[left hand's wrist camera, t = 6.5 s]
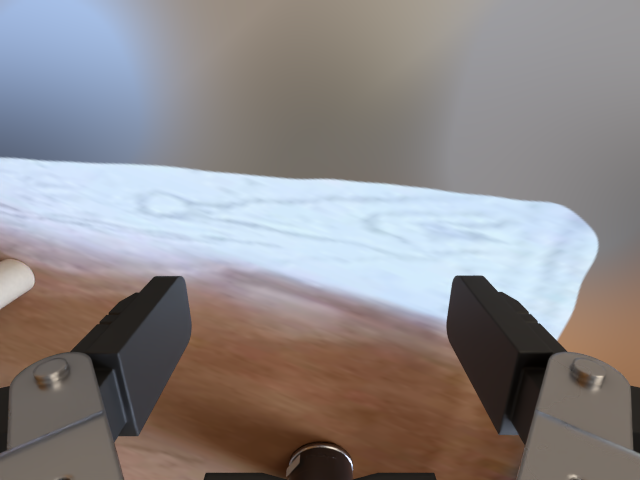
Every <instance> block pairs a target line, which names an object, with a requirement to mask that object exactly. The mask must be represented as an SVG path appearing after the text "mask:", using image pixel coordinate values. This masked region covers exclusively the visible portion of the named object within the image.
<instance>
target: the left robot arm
mask: <svg viewBox="0 0 640 480" xmlns="http://www.w3.org/2000/svg"><path fill="white" fill-rule="evenodd" d="M447 335H448V339H449V342H450V344H451V346H452V348H453V349H454V351H455V353H456V355H457V357H458V359H459V361H460V363H461V365H462V366H463V368H464V370H465V372H466V374H467V376H468V378H469V380H470V381H471V383H472V385H473V387H474V389H475V391H476V393H477V395H478V396H479V398H480V400H481V402H482V404H483V406H484V408H485V410H486V412H487V413H488V415H489V417H490V419H491V421H492V423H493V425H494V427H495V428H496V430H497V432H498V434H499V435H519V436H520V438H521V439H522V441H523V443H524V444H525V447H524V451H523V455H522V458H521V462H520V466H519V470H518V473H517V477H516V480H640V388H639V387H634V386H630V384H629V383H628V381H627V380H626V378H625V377H624V376H623V375H622V374H621V373H620V372H619V371H617V370H616V369H615V368H613V367H612V366H610V365H608V364H606V363H605V362H603V361H600V360H598V359H596V358H593V357H590V356H587V355H584V354H579V353H573V352H567V351H566V350H565V349H564V348H563V347H562V346H561V345H560V344H559V343H558V342H557V341H556V339H555V338H554V337H553V336H552V335H551V334H550V333H549V332H548V331H547V330H546V329H545V328H544V327H543V326H542V325H541V324H538V321H537V320H536V319H535V318H534V317H533V316H532V315H531V314H529V312H528V311H527V310H526V309H525V308H524V307H523V306H522V305H521V304H520V303H519V302H518V301H517V300H515V299H513V298H512V297H510V296H508V295H506V294H505V293H503V292H498V291H497V290H496V289H495V288H494V287H493V286H492V285H491V284H490V283H489V282H488V280H487V279H486V278H485V277H484V276H455V277H454V279H453V282H452V288H451V295H450V302H449V309H448V316H447ZM190 336H191V316H190V309H189V303H188V296H187V289H186V283H185V280H184V278H183V277H182V276H155V277H154V278H153V279H152V280H151V281H150V282H149V283H148V284H147V285H146V286H145V287H144V288H143V289H142V290H141V291H140V293H134V294H132V295H131V296H129V297H127V298H125V299H124V300H122V301H120V302H119V303H118V304H117V305H116V306H115V307H114V308H113V309H112V310H111V311H110V312H109V315H106V316H105V317H104V318H103V319H102V320H101V321H100V324H97V325H96V326H95V327H94V328H93V329H92V330H91V331H90V332H89V333H88V334H87V335H86V336H85V337H84V338H83V339H82V340H81V341H80V342H79V343H78V344H77V345H76V346H75V347H74V348H73V349H72V350H71V352H66V353H60V354H56V355H53V356H49V357H47V358H44V359H42V360H39V361H37V362H35V363H34V364H32V365H30V366H28V367H27V368H25V369H24V370H23V371H21V372H20V373H19V374H18V375H17V376H16V377H15V378H14V379H13V381H12V382H11V384H10V386H8V387H4V388H0V480H124V477H123V473H122V470H121V466H120V462H119V458H118V455H117V451H116V447H115V444H114V442H115V440H116V439H117V437H118V436H139V434H140V432H141V430H142V428H143V426H144V424H145V423H146V421H147V419H148V417H149V415H150V413H151V411H152V410H153V408H154V406H155V404H156V402H157V400H158V398H159V397H160V395H161V393H162V391H163V389H164V387H165V385H166V384H167V382H168V380H169V378H170V376H171V374H172V372H173V371H174V369H175V367H176V365H177V363H178V361H179V359H180V358H181V356H182V354H183V352H184V350H185V348H186V346H187V345H188V343H189V340H190ZM288 475H289V480H436V477H435V474H434V473H376V474H372V475H368V476H364V477H361V478H357V479H353V463H352V459H351V457H350V455H349V454H348V453H347V452H346V451H345V450H344V449H343V448H341V447H339V446H337V445H334V444H331V443H324V442H318V443H311V444H308V445H305V446H303V447H301V448H299V449H298V450H297V451H295V452H294V454H293V455H292V457H291V459H290V462H289V467H288V468H287V472H286V477H287V476H288ZM204 480H287V479H283V478H279V477H276V476H272V475H268V474H264V473H206V474H205V477H204Z"/></svg>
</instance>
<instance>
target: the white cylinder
mask: <svg viewBox="0 0 640 480" xmlns="http://www.w3.org/2000/svg"><path fill="white" fill-rule="evenodd" d="M34 283H35V278H34V274H33V272H32V271H31V269H30V268H29V267H28V266H27V265H26V264H24V263H23V262H21V261H18V260H15V259H4V260H2V261H0V310H1V309H2V308H4V307H5V306H7V305H8V304H10V303H11V302H13V301H14V300H16V299H17V298H19V297H20V296H22V295H23V294H25V293H26V292H28V291H29V290H31V289H32V287H33V286H34Z"/></svg>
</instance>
